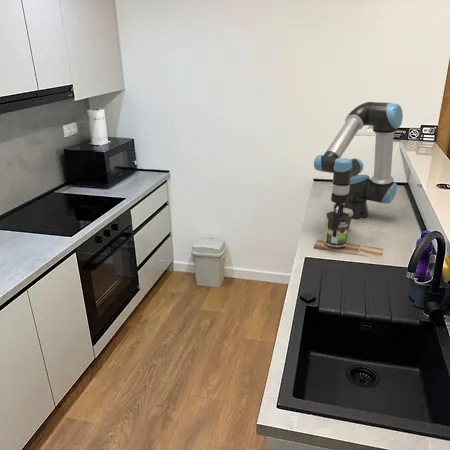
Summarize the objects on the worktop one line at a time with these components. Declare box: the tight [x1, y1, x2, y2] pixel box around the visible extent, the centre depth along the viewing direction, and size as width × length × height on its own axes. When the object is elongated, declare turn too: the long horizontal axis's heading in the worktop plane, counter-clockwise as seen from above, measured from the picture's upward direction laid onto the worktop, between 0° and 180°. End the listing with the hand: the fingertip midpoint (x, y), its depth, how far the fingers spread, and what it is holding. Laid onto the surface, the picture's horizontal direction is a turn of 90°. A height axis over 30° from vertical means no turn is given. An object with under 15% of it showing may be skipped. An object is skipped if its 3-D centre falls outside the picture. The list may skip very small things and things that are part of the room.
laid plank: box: [358, 244, 384, 260], centre depth 197 cm, size 12×10×1 cm
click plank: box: [313, 236, 361, 256], centre depth 202 cm, size 12×20×1 cm, turn 68°
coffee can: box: [324, 211, 350, 247], centre depth 200 cm, size 10×10×14 cm
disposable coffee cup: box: [343, 208, 353, 231], centre depth 221 cm, size 10×10×12 cm
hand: (335, 238), depth 201 cm, fingers closed on coffee can, 10 cm apart
